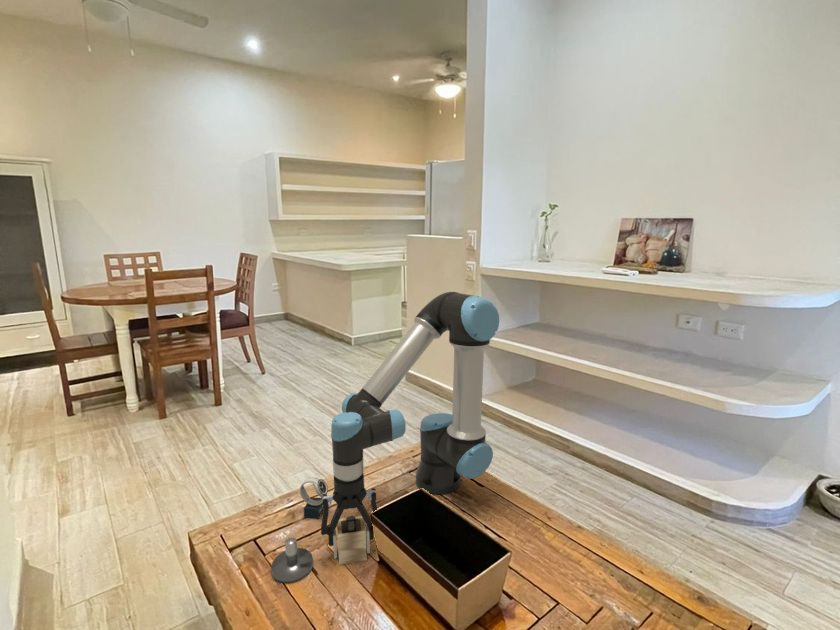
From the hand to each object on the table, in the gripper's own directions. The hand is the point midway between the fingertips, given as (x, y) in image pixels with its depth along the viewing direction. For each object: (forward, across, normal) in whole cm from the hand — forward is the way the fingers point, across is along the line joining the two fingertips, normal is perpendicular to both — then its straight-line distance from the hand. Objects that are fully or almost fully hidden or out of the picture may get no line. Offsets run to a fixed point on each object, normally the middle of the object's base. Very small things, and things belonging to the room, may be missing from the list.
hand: (351, 552), depth 116 cm
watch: (0, +10, -19) cm, 22 cm away
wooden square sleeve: (0, 0, 0) cm, 0 cm away
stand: (0, 0, 0) cm, 0 cm away
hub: (0, +15, +2) cm, 15 cm away
